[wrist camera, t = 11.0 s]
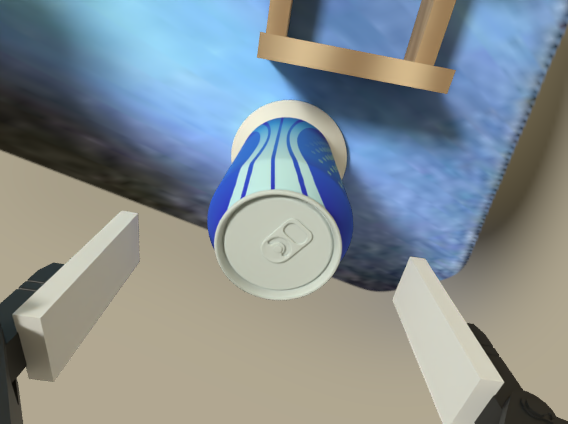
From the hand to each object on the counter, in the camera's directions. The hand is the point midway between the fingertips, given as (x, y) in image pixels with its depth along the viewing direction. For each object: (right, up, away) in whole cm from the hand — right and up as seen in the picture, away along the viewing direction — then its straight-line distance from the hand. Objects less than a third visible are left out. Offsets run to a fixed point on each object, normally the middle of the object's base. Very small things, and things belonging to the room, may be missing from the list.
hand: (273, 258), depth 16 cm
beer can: (+1, +7, +15) cm, 17 cm away
